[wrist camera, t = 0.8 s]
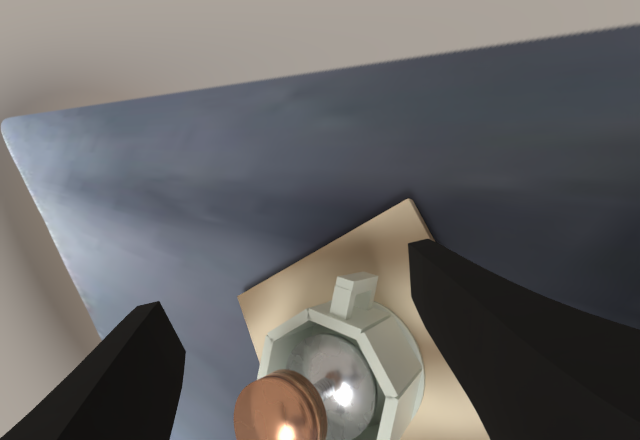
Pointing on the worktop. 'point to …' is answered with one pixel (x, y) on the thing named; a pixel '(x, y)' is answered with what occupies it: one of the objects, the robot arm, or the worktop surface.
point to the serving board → (392, 291)
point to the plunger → (311, 395)
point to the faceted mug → (372, 339)
